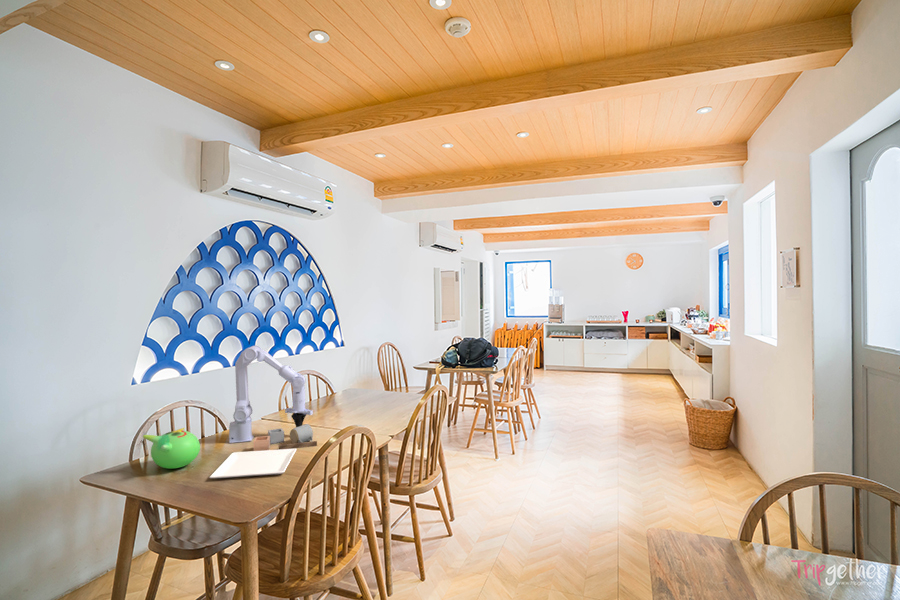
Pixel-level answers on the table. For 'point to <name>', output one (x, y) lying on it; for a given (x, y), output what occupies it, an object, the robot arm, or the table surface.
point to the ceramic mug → (301, 434)
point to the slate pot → (276, 436)
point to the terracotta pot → (262, 443)
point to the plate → (254, 463)
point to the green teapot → (174, 448)
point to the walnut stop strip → (298, 445)
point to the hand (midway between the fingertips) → (299, 428)
